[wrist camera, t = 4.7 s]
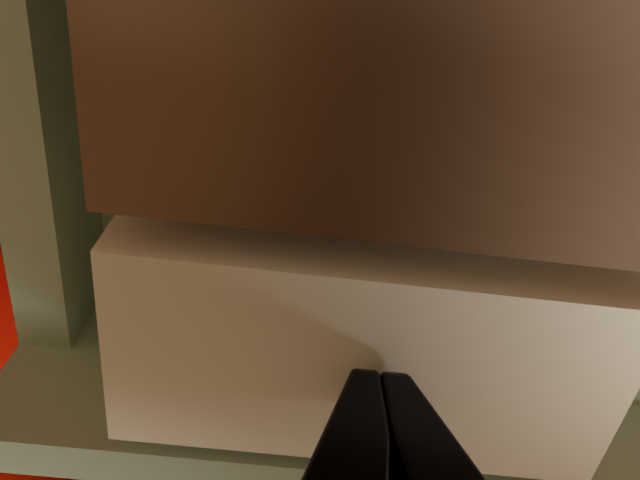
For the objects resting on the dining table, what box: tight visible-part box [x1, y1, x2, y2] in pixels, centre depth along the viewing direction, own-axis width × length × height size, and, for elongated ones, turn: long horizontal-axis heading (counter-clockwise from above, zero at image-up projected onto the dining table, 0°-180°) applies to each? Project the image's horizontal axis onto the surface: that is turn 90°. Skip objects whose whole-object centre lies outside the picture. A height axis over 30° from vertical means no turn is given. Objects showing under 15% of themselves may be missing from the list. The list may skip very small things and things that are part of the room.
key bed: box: [0, 0, 640, 480], centre depth 9 cm, size 13×14×6 cm
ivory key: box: [90, 215, 640, 480], centre depth 10 cm, size 8×4×2 cm, turn 83°
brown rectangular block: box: [66, 0, 640, 272], centre depth 8 cm, size 8×4×2 cm, turn 83°
